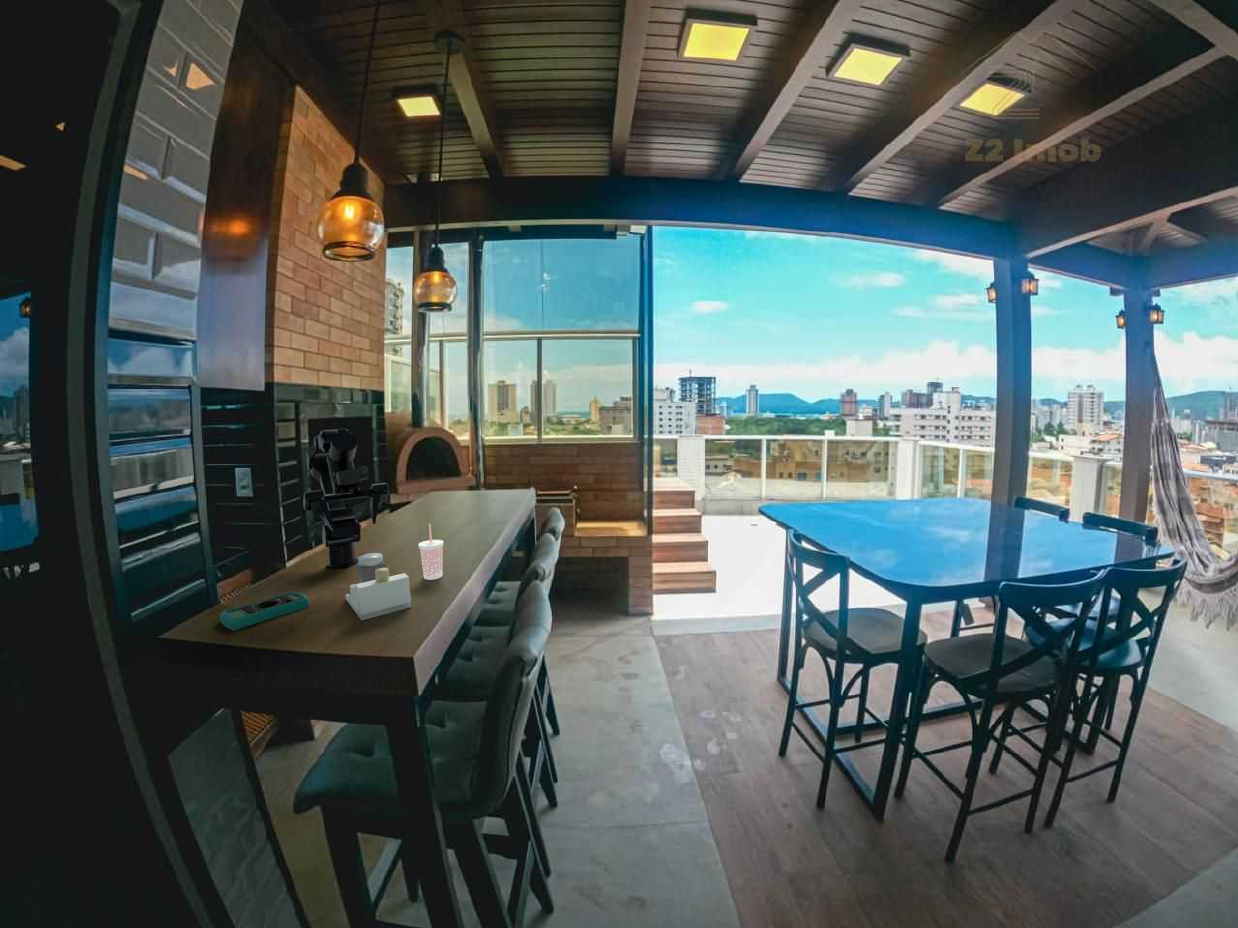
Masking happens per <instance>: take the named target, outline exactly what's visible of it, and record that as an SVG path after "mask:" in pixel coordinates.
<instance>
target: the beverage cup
mask: <svg viewBox="0 0 1238 928" xmlns="http://www.w3.org/2000/svg"><path fill="white" fill-rule="evenodd" d="M428 532H429V533H428V534H429V540H424V541H421V542H419V543H418V548H419V552H420V560H421V566H422V568H421V569H422V572H423V573H422V574H423V578H424V579H425V580H428V581H429V580H431V581H432V580H437V579H440V578H442V576H443V571H444V570H443V567H444V565H443V559H444V558H443V557H444V556H443V555H444V554H443V552H444V551H443V549H444V540H442V539H433V537H432V535H433V534H432V525H431V523H428Z"/></svg>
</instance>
